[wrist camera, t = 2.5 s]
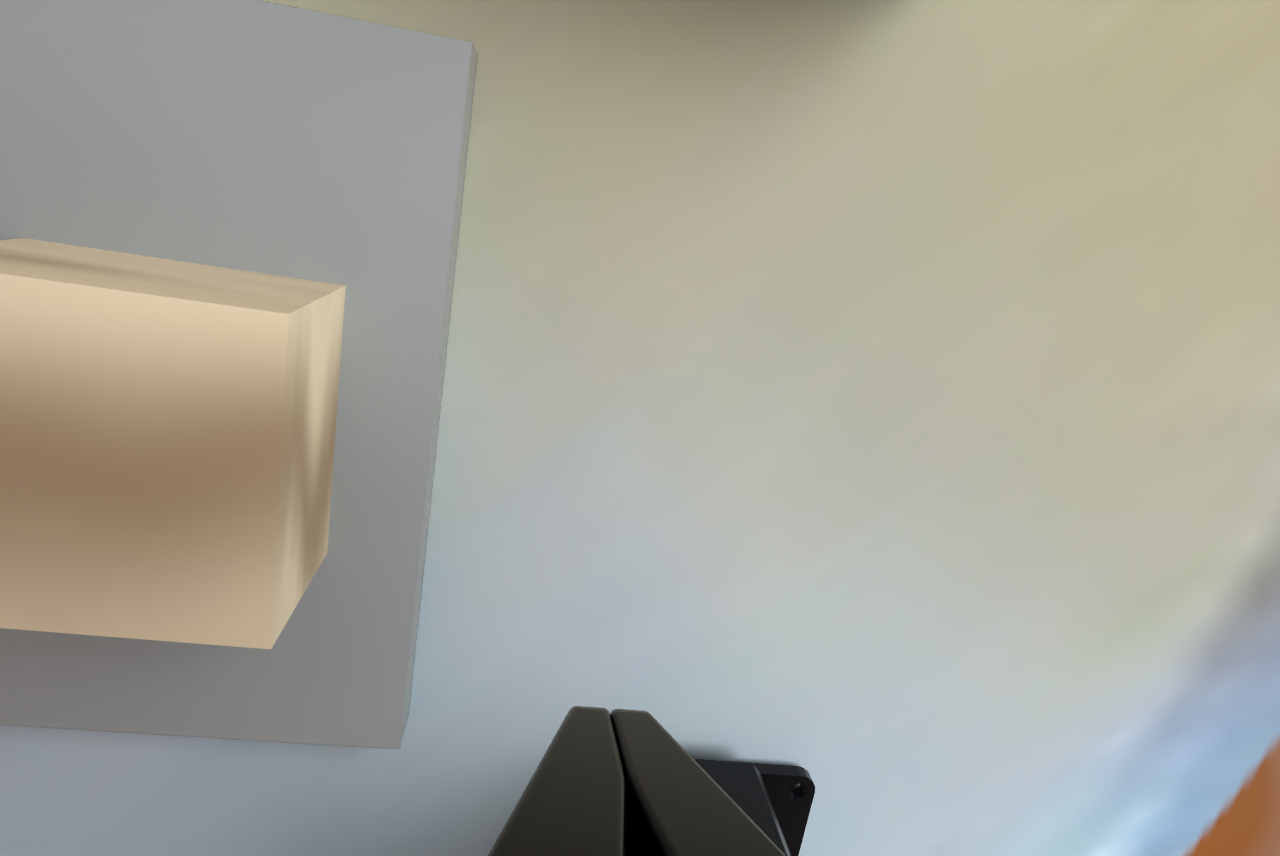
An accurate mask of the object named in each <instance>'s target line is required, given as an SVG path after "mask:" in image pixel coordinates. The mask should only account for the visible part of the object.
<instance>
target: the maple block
mask: <svg viewBox="0 0 1280 856" xmlns="http://www.w3.org/2000/svg"><path fill="white" fill-rule="evenodd" d="M345 290H346V285H340V284H333V283H326V282H319V281H312V280H306V279H299V278H292V277H285V276H278V275H272V274H265V273H258V272H251V271H244V270H238V269H231V268H224V267H217V266H210V265H204V264H197V263H190V262H183V261H176V260H170V259H163V258H156V257H149V256H142V255H136V254H129V253H122V252H115V251H108V250H102V249H95V248H88V247H81V246H74V245H68V244H61V243H54V242H47V241H40V240H34V239H27V238H19V239H9V240H0V628H5V629H18V630H31V631H43V632H56V633H69V634H81V635H94V636H107V637H119V638H132V639H145V640H157V641H170V642H183V643H196V644H208V645H221V646H234V647H246V648H259V649H272V647H273V645H274V644H275V642H276V640H277V638H278V637H279V635H280V633H281V632H282V630H283V628H284V626H285V625H286V623H287V621H288V620H289V618H290V616H291V614H292V613H293V611H294V609H295V607H296V606H297V604H298V602H299V601H300V599H301V597H302V595H303V594H304V592H305V590H306V589H307V587H308V585H309V583H310V582H311V580H312V578H313V577H314V575H315V573H316V571H317V570H318V568H319V566H320V565H321V563H322V561H323V559H324V558H325V556H326V554H327V547H328V532H329V518H330V504H331V490H332V475H333V461H334V447H335V433H336V418H337V404H338V390H339V376H340V361H341V347H342V333H343V319H344V304H345Z"/></svg>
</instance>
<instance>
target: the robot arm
mask: <svg viewBox="0 0 1280 856" xmlns="http://www.w3.org/2000/svg"><path fill="white" fill-rule="evenodd" d="M799 783H800V784H801V785H800V786H799V787H797V788H795V789H790V788H791V786H793V785H794V784H799ZM814 793H815V786H814V783H813V781H812V779H811V777H810V775H809V773H808V771H807V770H805V769H804V768H802V767H798V766H784V765H768V764H752V763H744V762H728V761H713V760H697V759H693V758H692V757H691V756H690V755H689V754H688V753H687V752H686V751H685V750H684V749H683V748H682V747H681V746H680V745H679V744H678V742H677V741H676V740H675V739H674V738H673V737H672V736H671V735H670V734H669V733H668V732H667V731H666V730H665V729H664V728H663V727H662V726H661V725H660V724H659V723H658V722H657V721H656V719H655V718H654V717H653V716H652V715H651V714H649V713H648V712H646V711H638V710H623V709H614V710H613V711H612V712H611V713H609V711H608V710H607V709H605V708H596V707H582V706H574V707H572V708H571V709H570V710H569V712H568V714H567V716H566V717H565V719H564V721H563V723H562V725H561V726H560V728H559V730H558V732H557V733H556V735H555V737H554V739H553V741H552V742H551V744H550V746H549V748H548V750H547V751H546V753H545V755H544V757H543V759H542V760H541V762H540V764H539V766H538V767H537V769H536V771H535V773H534V775H533V776H532V778H531V780H530V782H529V784H528V785H527V787H526V789H525V791H524V793H523V794H522V796H521V798H520V800H519V801H518V803H517V805H516V807H515V809H514V810H513V812H512V814H511V816H510V818H509V819H508V821H507V823H506V825H505V827H504V828H503V830H502V832H501V834H500V836H499V837H498V839H497V841H496V843H495V844H494V846H493V848H492V850H491V852H490V853H489V855H488V856H798V854H799V851H800V847H801V843H802V839H803V835H804V831H805V827H806V824H807V820H808V816H809V812H810V808H811V804H812V801H813V797H814Z"/></svg>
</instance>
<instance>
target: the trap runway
mask: <svg viewBox="0 0 1280 856" xmlns="http://www.w3.org/2000/svg"><path fill="white" fill-rule="evenodd" d="M476 62H477V52H476V50H475V48H474V46H473V44H472V42H469V41H464V40H459V39H453V38H448V37H443V36H438V35H433V34H428V33H423V32H418V31H413V30H408V29H403V28H397V27H392V26H387V25H382V24H377V23H372V22H367V21H362V20H357V19H352V18H347V17H341V16H336V15H331V14H326V13H321V12H316V11H311V10H306V9H301V8H296V7H291V6H285V5H280V4H275V3H270V2H265V1H260V0H0V240H9V239H19V238H27V239H34V240H40V241H47V242H54V243H61V244H68V245H74V246H81V247H88V248H95V249H102V250H108V251H115V252H122V253H129V254H136V255H142V256H149V257H156V258H163V259H170V260H176V261H183V262H190V263H197V264H204V265H210V266H217V267H224V268H231V269H238V270H244V271H251V272H258V273H265V274H272V275H278V276H285V277H292V278H299V279H306V280H312V281H319V282H326V283H333V284H340V285H346V290H345V304H344V319H343V333H342V347H341V361H340V376H339V390H338V404H337V418H336V433H335V447H334V461H333V475H332V490H331V504H330V518H329V532H328V547H327V554H326V556H325V558H324V559H323V561H322V563H321V565H320V566H319V568H318V570H317V571H316V573H315V575H314V577H313V578H312V580H311V582H310V583H309V585H308V587H307V589H306V590H305V592H304V594H303V595H302V597H301V599H300V601H299V602H298V604H297V606H296V607H295V609H294V611H293V613H292V614H291V616H290V618H289V620H288V621H287V623H286V625H285V626H284V628H283V630H282V632H281V633H280V635H279V637H278V638H277V640H276V642H275V644H274V645H273V647H272V649H259V648H246V647H234V646H221V645H208V644H196V643H183V642H170V641H157V640H145V639H132V638H119V637H107V636H94V635H81V634H69V633H56V632H43V631H31V630H18V629H5V628H0V725H12V726H29V727H45V728H61V729H77V730H93V731H109V732H125V733H141V734H157V735H174V736H190V737H206V738H222V739H238V740H254V741H270V742H286V743H303V744H319V745H335V746H351V747H367V748H383V749H400V745H401V741H402V737H403V733H404V729H405V725H406V721H407V717H408V713H409V705H410V696H411V686H412V677H413V667H414V657H415V648H416V638H417V629H418V619H419V609H420V600H421V590H422V581H423V571H424V561H425V552H426V542H427V533H428V523H429V514H430V504H431V494H432V485H433V475H434V466H435V456H436V446H437V437H438V427H439V418H440V408H441V398H442V389H443V379H444V370H445V360H446V350H447V341H448V331H449V322H450V312H451V302H452V293H453V283H454V274H455V264H456V254H457V245H458V235H459V226H460V216H461V206H462V197H463V187H464V178H465V168H466V158H467V149H468V139H469V130H470V120H471V110H472V101H473V91H474V82H475V72H476Z"/></svg>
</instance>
